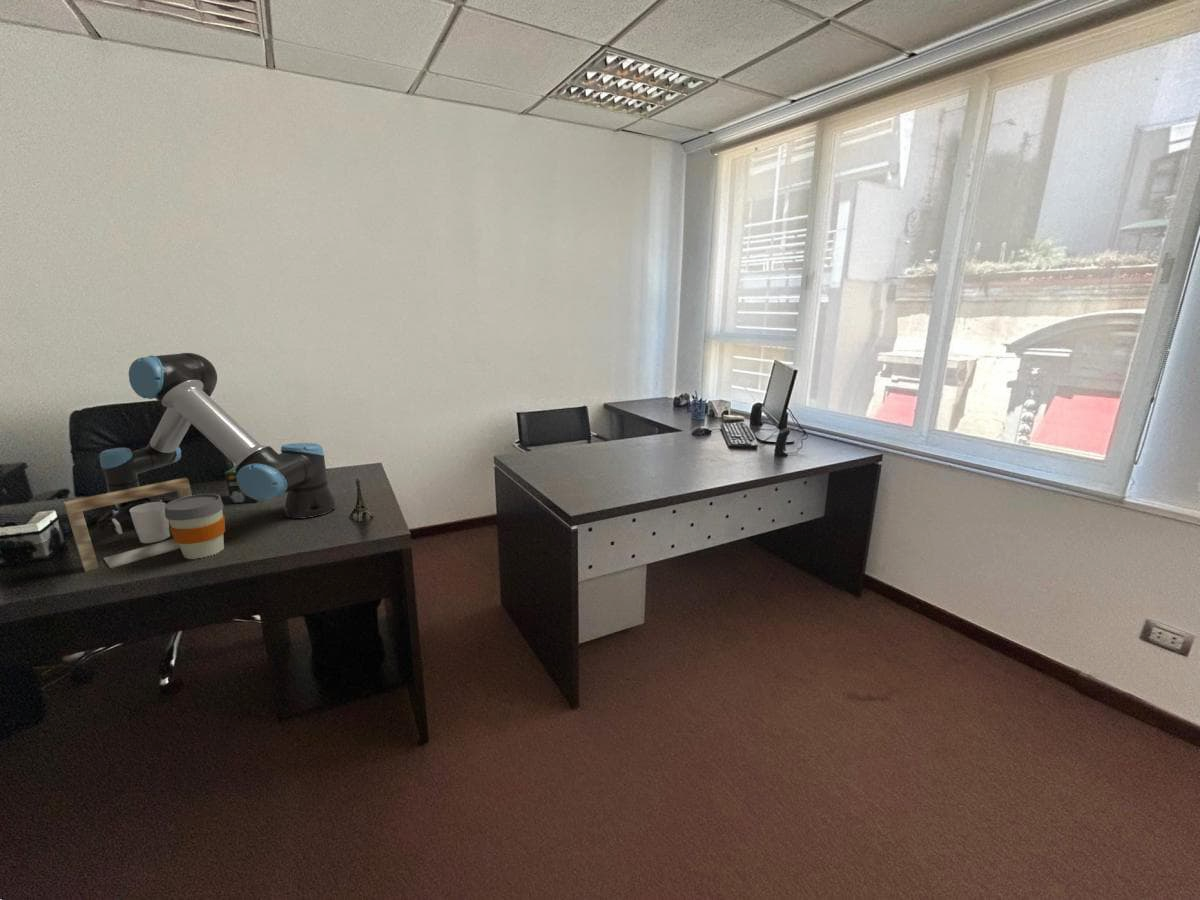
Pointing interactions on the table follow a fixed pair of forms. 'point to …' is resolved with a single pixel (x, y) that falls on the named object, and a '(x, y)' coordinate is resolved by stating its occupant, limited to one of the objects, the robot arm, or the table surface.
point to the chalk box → (236, 488)
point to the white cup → (150, 522)
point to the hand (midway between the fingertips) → (151, 521)
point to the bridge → (83, 504)
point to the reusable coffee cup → (197, 524)
